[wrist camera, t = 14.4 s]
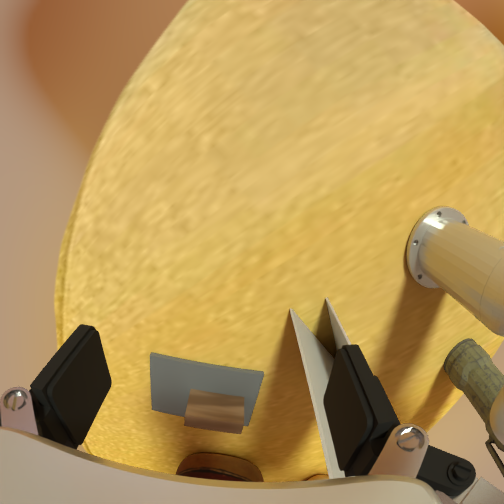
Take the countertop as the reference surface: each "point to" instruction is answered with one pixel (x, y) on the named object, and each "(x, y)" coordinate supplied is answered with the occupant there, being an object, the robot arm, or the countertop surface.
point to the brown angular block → (215, 411)
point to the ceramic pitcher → (219, 468)
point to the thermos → (477, 384)
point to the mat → (199, 383)
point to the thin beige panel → (320, 378)
